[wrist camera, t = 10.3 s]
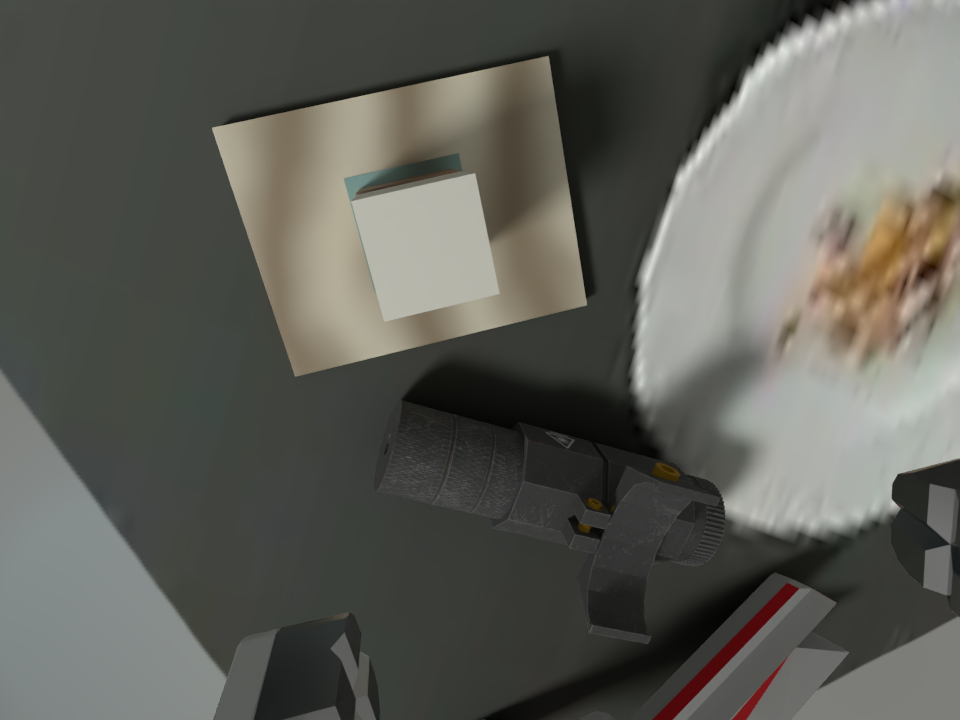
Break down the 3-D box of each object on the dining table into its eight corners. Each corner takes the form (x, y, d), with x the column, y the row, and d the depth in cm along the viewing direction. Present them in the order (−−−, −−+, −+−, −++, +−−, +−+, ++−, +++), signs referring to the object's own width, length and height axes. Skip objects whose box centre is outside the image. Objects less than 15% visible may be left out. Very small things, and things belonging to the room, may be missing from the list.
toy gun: (697, 574, 58) (858, 665, 45) (460, 795, 48) (577, 994, 35) (678, 518, 55) (842, 596, 42) (424, 738, 45) (535, 929, 32)
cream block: (460, 171, 29) (475, 173, 24) (482, 273, 30) (499, 294, 26) (357, 194, 28) (351, 201, 24) (384, 296, 30) (383, 321, 25)
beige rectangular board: (544, 58, 33) (548, 55, 32) (581, 301, 38) (587, 305, 37) (216, 128, 32) (211, 127, 31) (297, 371, 37) (295, 376, 36)
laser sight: (410, 354, 38) (418, 418, 28) (715, 441, 43) (807, 520, 34) (366, 488, 40) (359, 589, 31) (660, 556, 45) (731, 659, 36)
